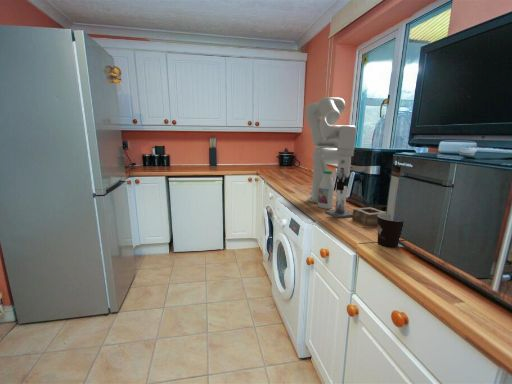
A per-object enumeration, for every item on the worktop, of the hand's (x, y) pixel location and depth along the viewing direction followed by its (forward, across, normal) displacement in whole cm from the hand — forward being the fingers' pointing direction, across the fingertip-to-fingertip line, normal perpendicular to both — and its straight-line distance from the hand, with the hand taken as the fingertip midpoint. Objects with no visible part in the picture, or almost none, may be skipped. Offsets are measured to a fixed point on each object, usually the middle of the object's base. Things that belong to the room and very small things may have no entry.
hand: (341, 188), depth 125 cm
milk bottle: (+14, +10, +9) cm, 19 cm away
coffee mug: (+12, -30, -21) cm, 39 cm away
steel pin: (+12, -1, 0) cm, 12 cm away
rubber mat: (+13, -1, -1) cm, 13 cm away
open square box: (+13, -6, -14) cm, 20 cm away
